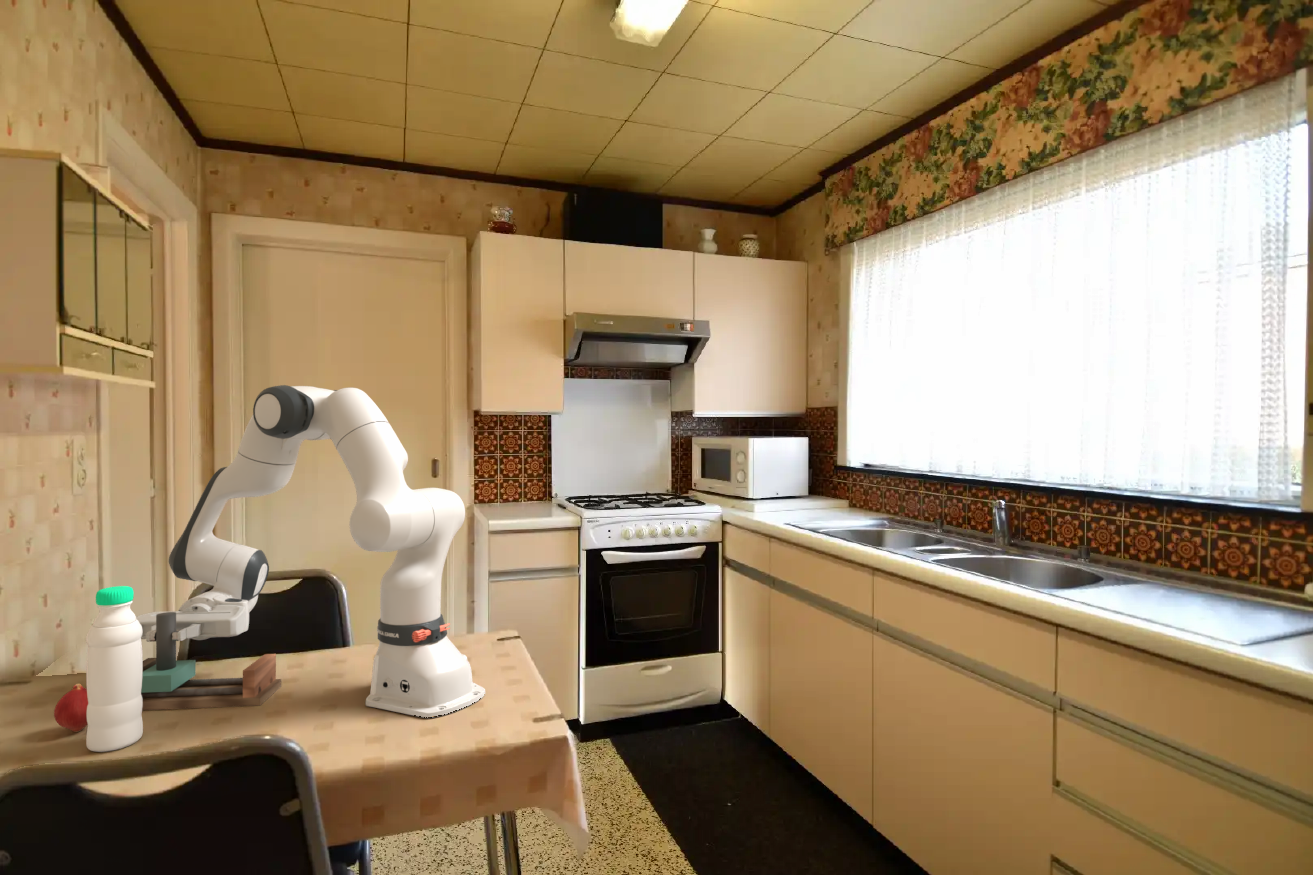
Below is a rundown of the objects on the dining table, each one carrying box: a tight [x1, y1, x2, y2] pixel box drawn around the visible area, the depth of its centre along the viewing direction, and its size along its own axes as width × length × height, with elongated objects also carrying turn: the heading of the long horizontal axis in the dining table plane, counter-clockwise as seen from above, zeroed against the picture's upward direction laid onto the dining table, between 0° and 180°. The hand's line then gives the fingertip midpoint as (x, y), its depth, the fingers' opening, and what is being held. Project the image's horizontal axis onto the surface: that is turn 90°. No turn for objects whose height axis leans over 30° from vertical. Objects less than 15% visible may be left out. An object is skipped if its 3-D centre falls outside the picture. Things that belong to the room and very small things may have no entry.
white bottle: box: [85, 585, 144, 753], centre depth 108 cm, size 7×7×25 cm
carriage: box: [141, 611, 197, 693], centre depth 125 cm, size 6×8×13 cm
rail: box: [141, 653, 282, 711], centre depth 126 cm, size 24×9×6 cm, turn 97°
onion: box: [53, 683, 88, 733], centre depth 112 cm, size 6×6×8 cm
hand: (163, 637), depth 124 cm, fingers closed on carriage, 3 cm apart
